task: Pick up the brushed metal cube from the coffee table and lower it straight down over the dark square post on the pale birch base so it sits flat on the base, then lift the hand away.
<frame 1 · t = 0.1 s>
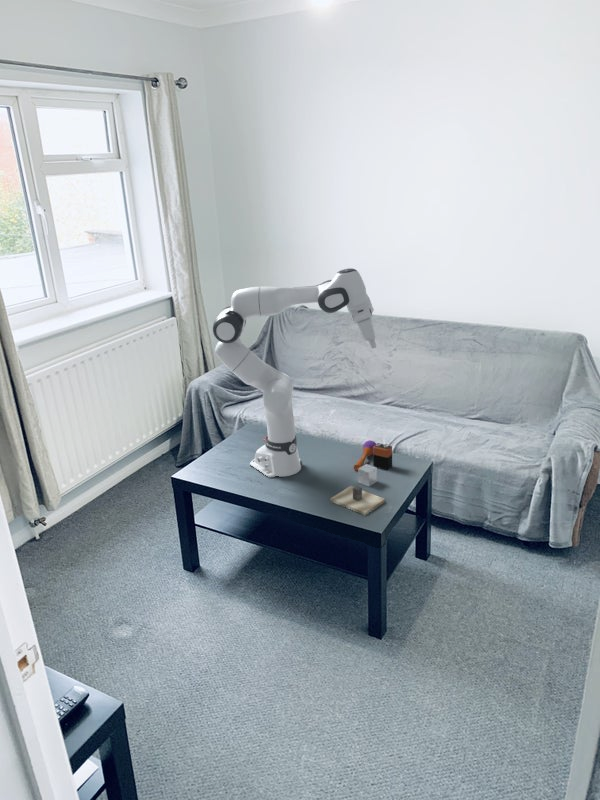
hand: (373, 343, 232), 52 cm above the table, tool tilted 20°, fingers open, 8 cm apart
brushed metal cube: (367, 481, 239), on the table
holder: (357, 501, 226), on the table
battery: (382, 466, 251), on the table
kendama: (365, 461, 257), on the table
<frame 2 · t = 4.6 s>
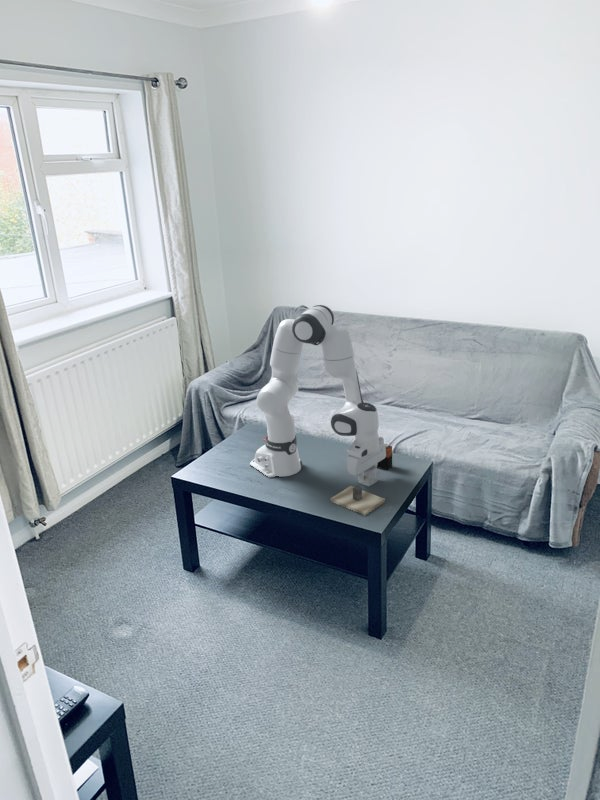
hand: (367, 476, 239), 2 cm above the table, tool pointing down, fingers closed on brushed metal cube, 5 cm apart
brushed metal cube: (367, 481, 239), on the table, touching gripper
when the fingers open (4 cm above the table, at t = 12.2 s): brushed metal cube stays where it is, resting on holder.
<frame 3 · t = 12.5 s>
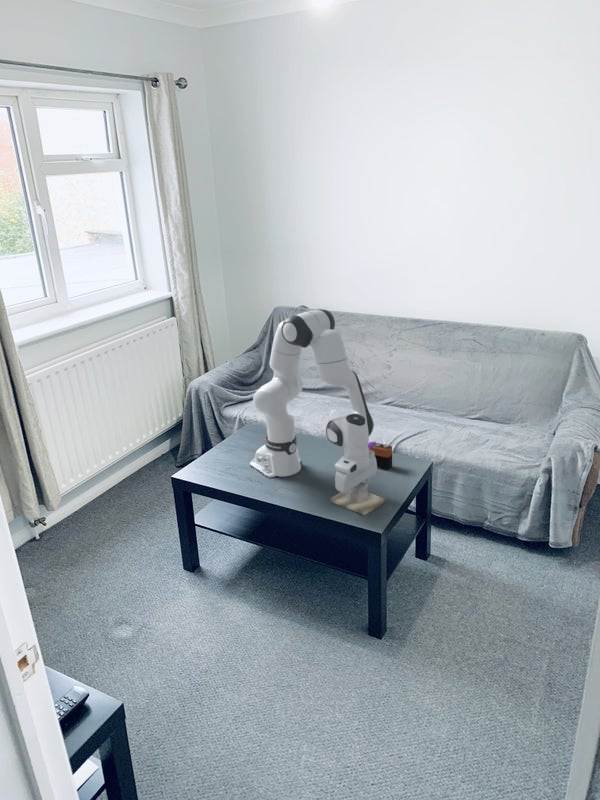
hand: (357, 492, 225), 4 cm above the table, tool pointing down, fingers open, 8 cm apart
brushed metal cube: (357, 498, 226), point 1 cm above the table, touching holder
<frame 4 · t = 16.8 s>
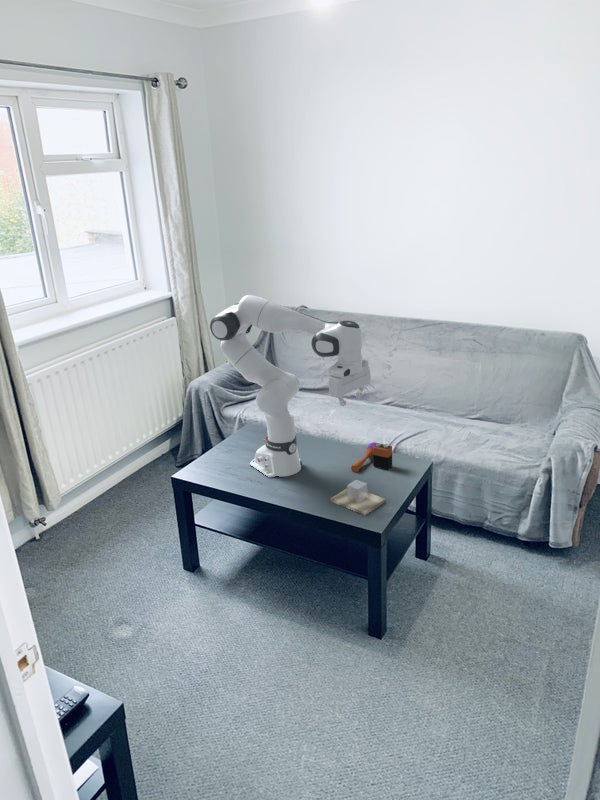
hand: (351, 401, 227), 34 cm above the table, tool pointing down, fingers open, 8 cm apart
at the end: brushed metal cube 0.0 cm off-centre on the holder, point 1.2 cm above the holder's base; brushed metal cube tilted 0°; the gripper is holding nothing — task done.
